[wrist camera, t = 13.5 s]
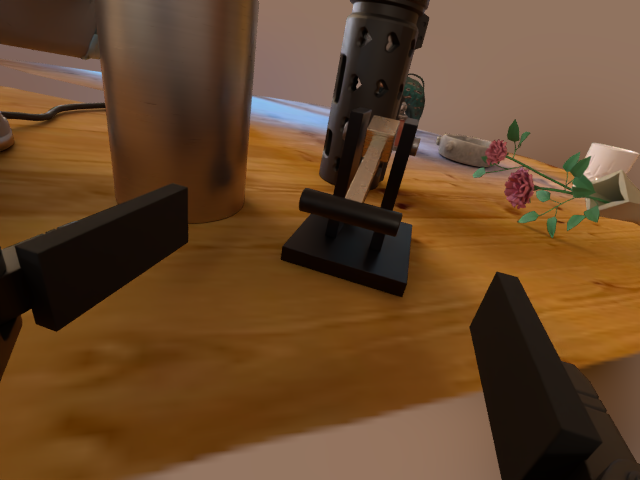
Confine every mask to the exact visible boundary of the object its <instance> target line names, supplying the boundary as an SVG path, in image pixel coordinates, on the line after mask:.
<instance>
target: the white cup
mask: <svg viewBox="0 0 640 480" xmlns="http://www.w3.org/2000/svg"><path fill="white" fill-rule="evenodd" d="M639 155H640V153H637V152H633V151H630V150H626V149H622V148H618V147H613V146H609V145H604V144H599V143H592V145H591V147H590V149H589V151H588V153H587V155H586V157H585V158H587V157H589V156H591V159H590V163H589V166H588V168H587V169H586V171H585V172H584V173H583V174H584V175H585V176H586V177H587V178H588V179H589V180H590V181H594V180H596V179H599V178H601V177H604V176H607V175H609V174H612V173H614V172H617V171H620V170H623V171H624V172H625V174H627V173H628V171H629V170H630V169H631V167H632V166H633V164H634V163H635V161H636V160H637V158H638V157H639ZM573 187H576V186H575V185H574V184H573ZM571 189H572V188H571Z"/></svg>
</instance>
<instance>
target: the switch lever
mask: <svg viewBox="0 0 640 480" xmlns="http://www.w3.org/2000/svg"><path fill="white" fill-rule="evenodd" d="M399 124H400V121H399V120H394V119H390V118H385V117H381V116H376V115H374V116H373V118H372V120H371V122H370V124H369V126H368V128H367V130H366V135H365V140H364V145H363V150H362V155H361V156H362V157H363V160H362V162H361V164H360V166H359V168H358V170H357V172H356V175H355V177H354V179H353V181H352V183H351V185H350V188H349V190H348V192H347V194H346V196H345V198H343V197H339V196H335V195H331V194H328V193H324V192H320V191H317V190H313V189H309V188H305V189H304V190H303V192H302V194H301V197H300V202H299V210H300V211H304V212H307V213H311V214H314V215H318V216H321V217H325V218H329V219H332V220H336V221H339V222H343V223H346V224H350V225H354V226H357V227H361V228H364V229H368V230H372V231H375V232H379V233H382V234H386V235H389V236H393V237H396V235H397V232H398V229H399V226H400V223H401V219H402V213H399V212H395V211H391V210H388V209H384V208H380V207H376V206H373V205H369V204H365V203H364V202H365V199H366V197H367V194H368V191H369V189H370V186H371V184H372V181H373V178H374V176H375V173H376V171H377V168H378V165H379V163H380V161H381V162H385V163H388V161H389V159H390V156H391V153H392V150H393V147H394V143H395V139H396V136H397V132H398V128H399Z"/></svg>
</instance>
